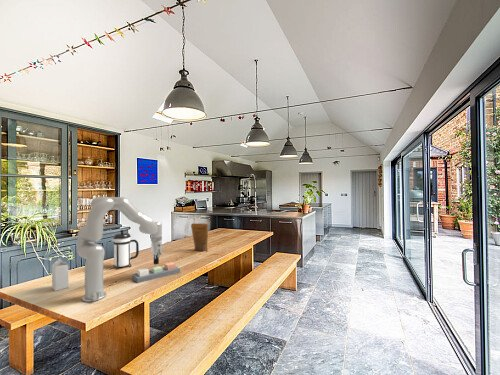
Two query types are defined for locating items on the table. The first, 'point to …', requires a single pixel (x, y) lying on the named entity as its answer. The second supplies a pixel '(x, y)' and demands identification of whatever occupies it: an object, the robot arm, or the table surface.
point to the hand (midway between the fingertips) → (156, 263)
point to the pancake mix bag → (200, 236)
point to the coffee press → (123, 249)
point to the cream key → (142, 272)
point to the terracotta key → (169, 266)
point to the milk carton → (59, 275)
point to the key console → (155, 274)
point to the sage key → (156, 269)
